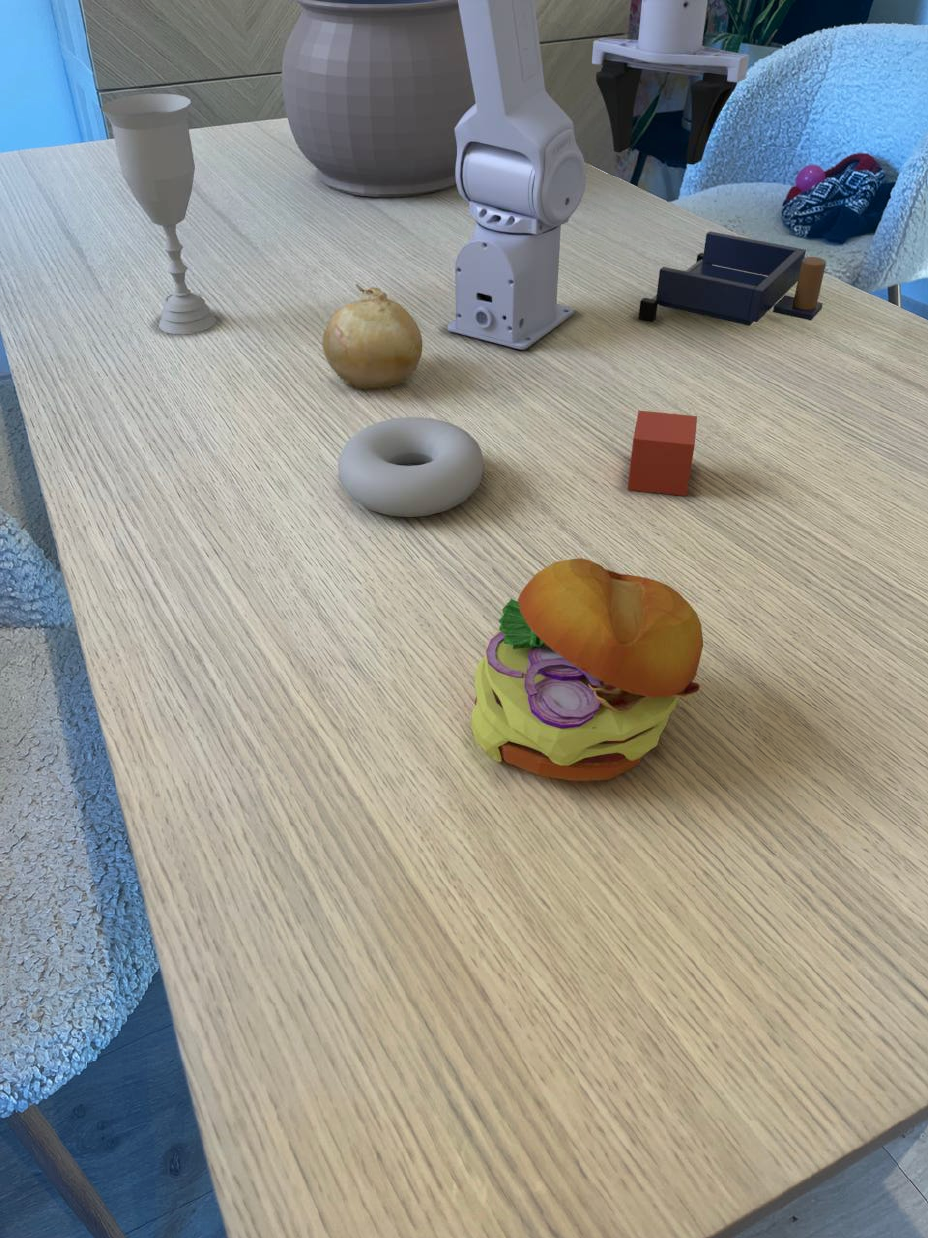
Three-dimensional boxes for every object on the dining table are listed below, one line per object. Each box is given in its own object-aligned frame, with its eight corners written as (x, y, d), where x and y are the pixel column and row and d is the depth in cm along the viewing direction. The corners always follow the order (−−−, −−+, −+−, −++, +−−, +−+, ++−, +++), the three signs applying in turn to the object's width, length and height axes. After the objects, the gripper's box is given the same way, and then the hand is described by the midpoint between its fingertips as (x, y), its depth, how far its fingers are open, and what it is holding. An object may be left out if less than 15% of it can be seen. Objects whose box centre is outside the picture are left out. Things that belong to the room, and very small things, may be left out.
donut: (309, 496, 69) (423, 544, 64) (303, 451, 67) (420, 498, 62) (403, 437, 75) (513, 478, 70) (400, 395, 73) (513, 433, 68)
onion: (443, 379, 82) (441, 294, 78) (365, 410, 78) (358, 323, 74) (383, 348, 87) (378, 266, 82) (306, 376, 83) (297, 291, 78)
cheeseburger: (429, 688, 54) (468, 526, 49) (595, 670, 59) (647, 521, 53) (513, 824, 47) (570, 650, 41) (694, 790, 51) (767, 631, 46)
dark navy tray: (697, 266, 99) (705, 215, 96) (836, 294, 93) (848, 242, 90) (646, 307, 91) (652, 254, 88) (794, 341, 86) (806, 286, 83)
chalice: (206, 342, 88) (167, 117, 77) (134, 336, 89) (84, 113, 78) (237, 309, 94) (205, 95, 82) (169, 303, 95) (127, 91, 83)
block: (686, 496, 69) (694, 444, 66) (627, 489, 69) (633, 438, 67) (689, 466, 72) (697, 415, 69) (632, 460, 72) (638, 409, 70)
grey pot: (263, 164, 129) (240, -18, 117) (437, 138, 138) (433, -33, 126) (338, 221, 112) (321, 16, 100) (531, 187, 121) (538, -5, 109)
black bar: (698, 270, 100) (700, 252, 99) (711, 272, 100) (714, 254, 99) (637, 319, 91) (639, 300, 90) (652, 322, 91) (654, 303, 90)
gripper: (771, -9, 88) (744, 157, 97) (622, -22, 94) (609, 135, 103) (740, 2, 83) (715, 175, 92) (586, -12, 90) (575, 151, 98)
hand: (657, 155), depth 97 cm, fingers open, 7 cm apart
